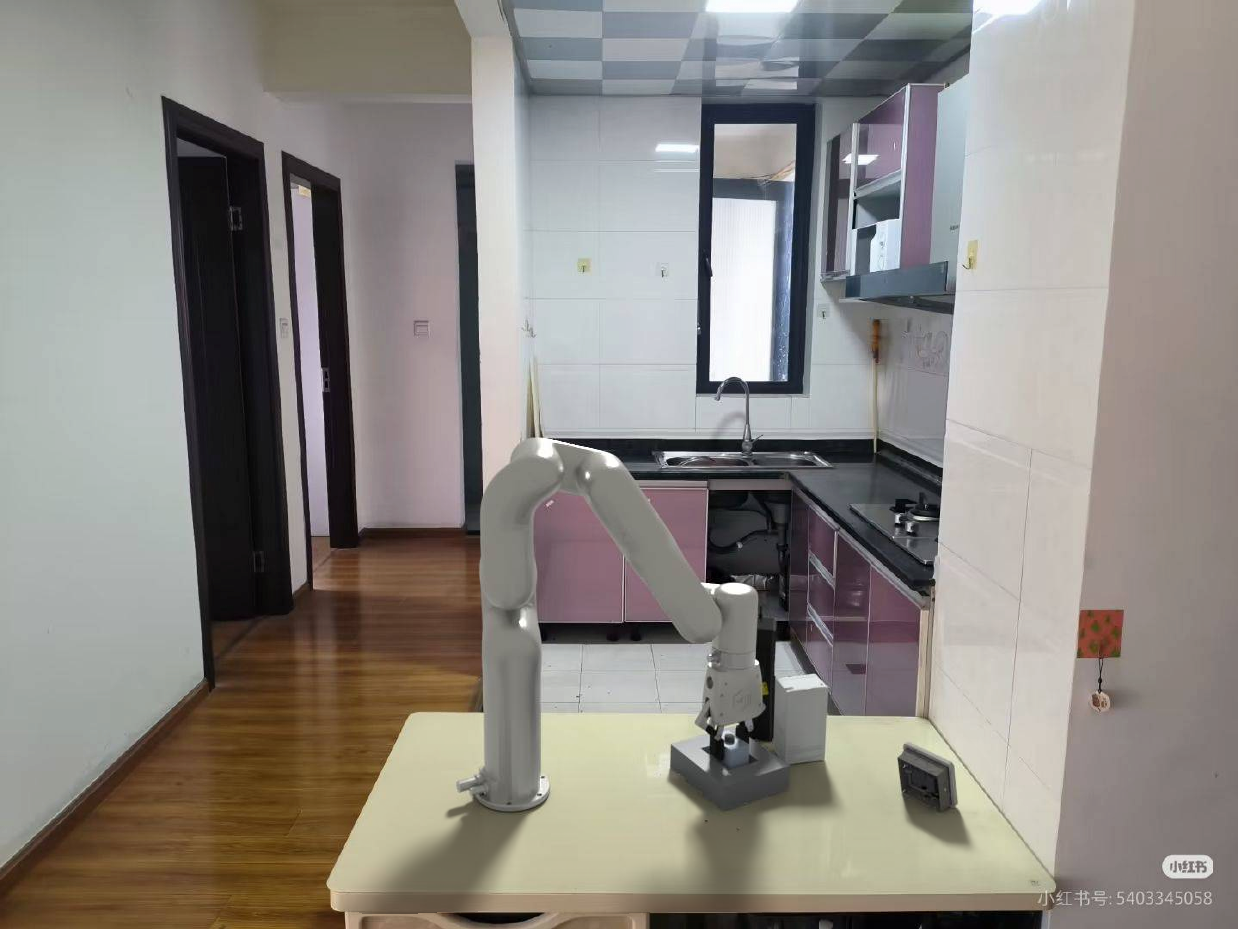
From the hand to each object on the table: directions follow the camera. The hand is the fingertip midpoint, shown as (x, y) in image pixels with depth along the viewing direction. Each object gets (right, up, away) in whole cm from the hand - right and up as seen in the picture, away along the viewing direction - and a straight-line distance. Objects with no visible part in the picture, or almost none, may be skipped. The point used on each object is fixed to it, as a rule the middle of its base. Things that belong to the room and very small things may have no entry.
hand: (729, 752), depth 158 cm
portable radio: (+8, -2, +17) cm, 19 cm away
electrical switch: (+33, -7, -5) cm, 34 cm away
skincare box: (+14, -4, +9) cm, 17 cm away
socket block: (0, -5, +1) cm, 5 cm away
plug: (0, -4, +1) cm, 4 cm away
